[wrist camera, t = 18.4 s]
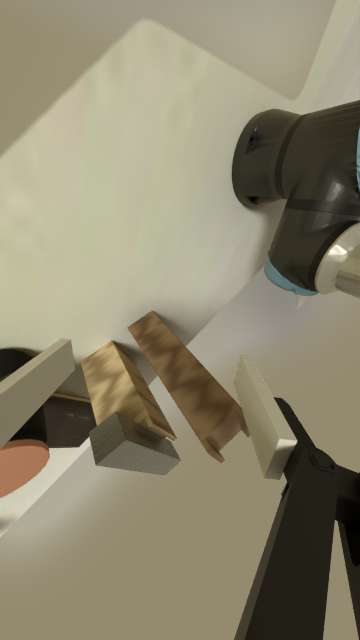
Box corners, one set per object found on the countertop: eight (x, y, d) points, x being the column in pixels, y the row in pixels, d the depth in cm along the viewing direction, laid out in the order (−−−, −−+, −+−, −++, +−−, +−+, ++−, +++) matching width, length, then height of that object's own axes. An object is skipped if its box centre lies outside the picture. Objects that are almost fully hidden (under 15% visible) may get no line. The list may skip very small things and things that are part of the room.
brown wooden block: (152, 310, 44) (248, 415, 24) (170, 341, 54) (251, 435, 34) (127, 327, 43) (208, 453, 23) (150, 355, 52) (222, 463, 32)
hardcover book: (31, 384, 38) (31, 393, 37) (114, 402, 55) (116, 408, 53) (-24, 440, 38) (-27, 452, 36) (76, 441, 55) (77, 448, 53)
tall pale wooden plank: (111, 340, 43) (152, 422, 28) (136, 365, 51) (176, 438, 36) (80, 362, 41) (106, 461, 26) (110, 383, 50) (142, 467, 35)
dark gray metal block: (115, 411, 24) (126, 440, 21) (170, 441, 40) (180, 460, 37) (88, 432, 23) (95, 465, 21) (155, 454, 39) (164, 475, 36)
